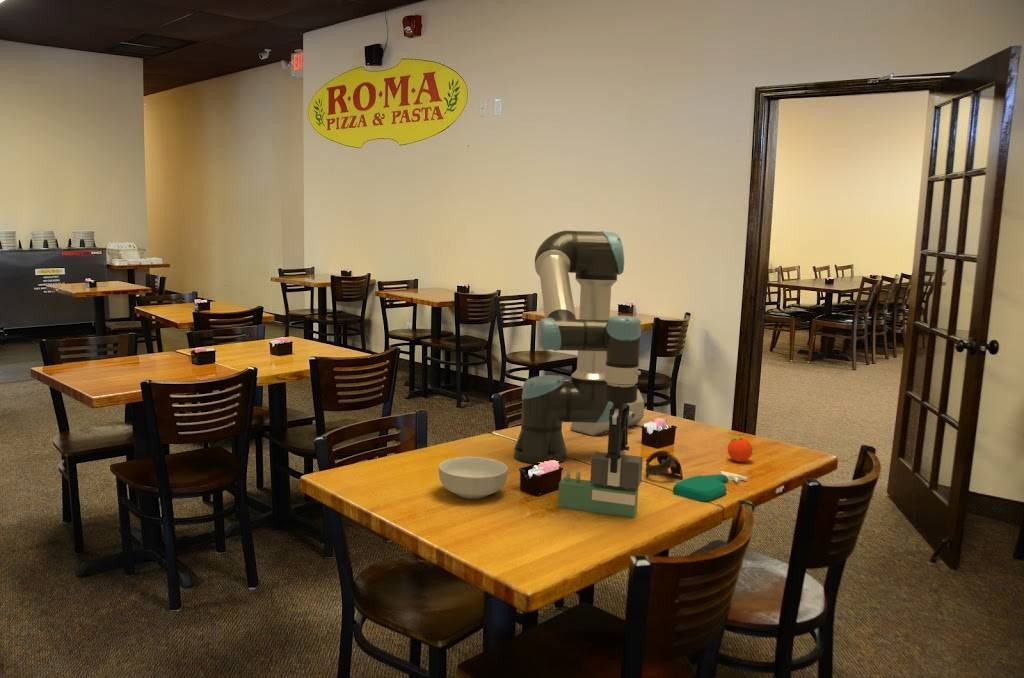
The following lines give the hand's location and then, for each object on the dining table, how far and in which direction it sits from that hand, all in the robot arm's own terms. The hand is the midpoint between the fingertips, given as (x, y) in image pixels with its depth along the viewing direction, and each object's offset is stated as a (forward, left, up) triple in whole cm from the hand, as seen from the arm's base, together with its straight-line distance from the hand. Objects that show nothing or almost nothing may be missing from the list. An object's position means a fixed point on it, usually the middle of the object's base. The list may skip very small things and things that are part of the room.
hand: (615, 481), depth 187 cm
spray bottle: (+20, +28, -8) cm, 36 cm away
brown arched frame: (+8, +33, -8) cm, 34 cm away
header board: (-4, 0, -7) cm, 8 cm away
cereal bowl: (-35, -1, -8) cm, 36 cm away
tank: (-15, +77, -8) cm, 79 cm away
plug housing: (0, 0, 0) cm, 0 cm away
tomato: (+26, +56, -8) cm, 62 cm away
